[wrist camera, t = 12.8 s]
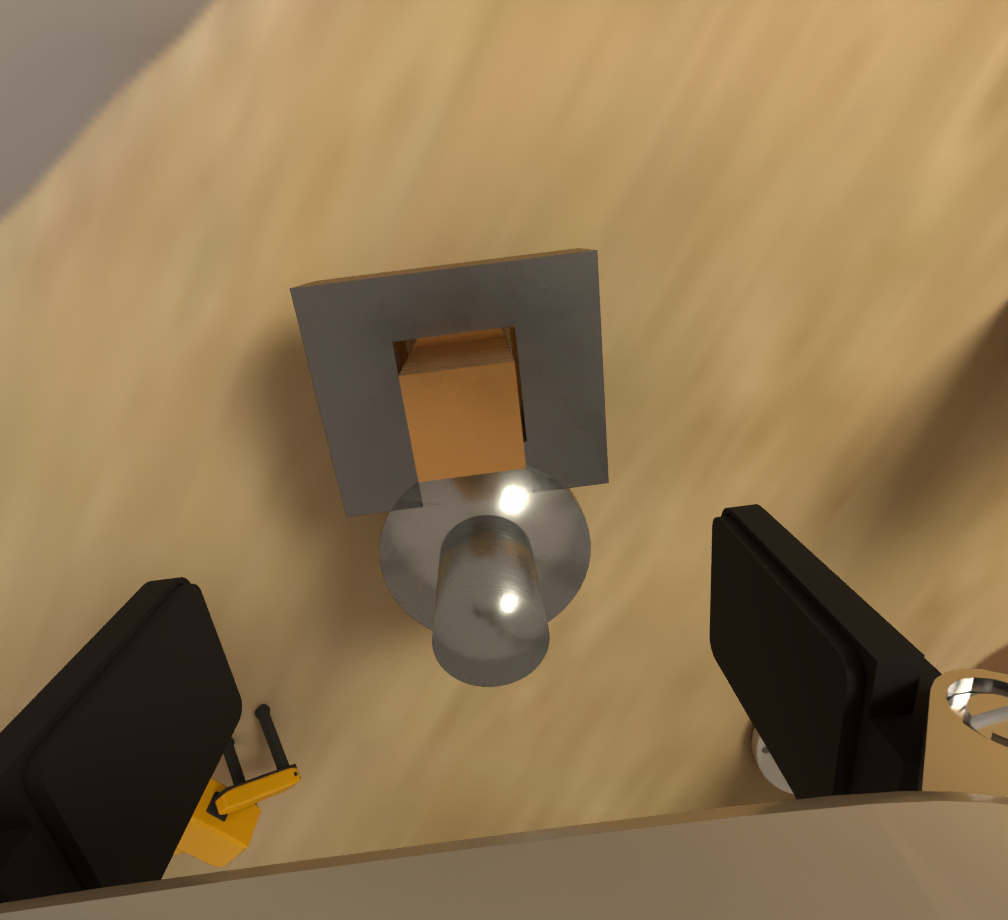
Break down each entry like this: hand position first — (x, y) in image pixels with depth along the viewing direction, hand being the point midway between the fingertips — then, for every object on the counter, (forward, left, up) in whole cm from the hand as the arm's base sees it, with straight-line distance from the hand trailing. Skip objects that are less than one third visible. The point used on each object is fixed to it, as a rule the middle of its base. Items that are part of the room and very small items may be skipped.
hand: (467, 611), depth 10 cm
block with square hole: (0, +4, -22) cm, 23 cm away
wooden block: (0, 0, -23) cm, 23 cm away
